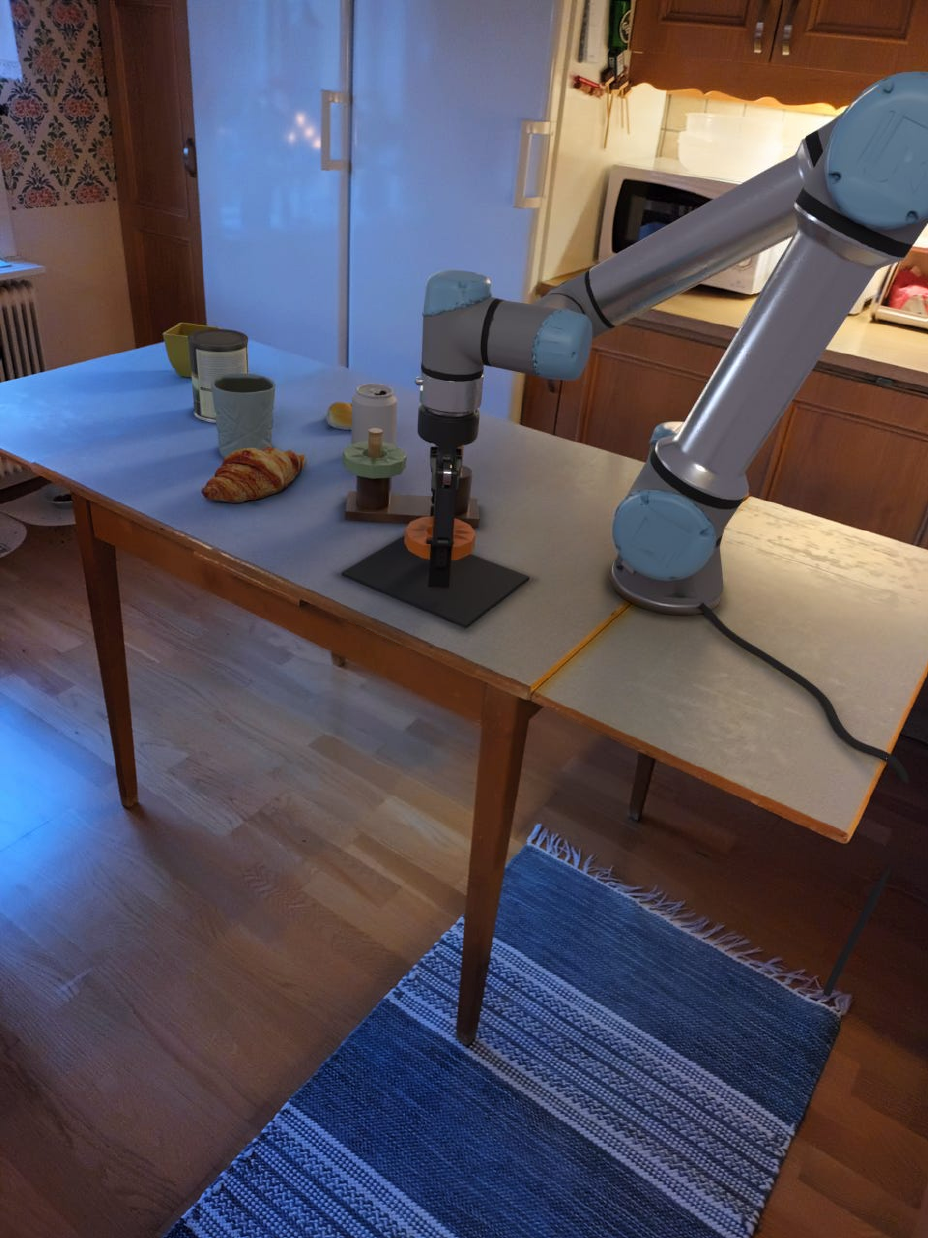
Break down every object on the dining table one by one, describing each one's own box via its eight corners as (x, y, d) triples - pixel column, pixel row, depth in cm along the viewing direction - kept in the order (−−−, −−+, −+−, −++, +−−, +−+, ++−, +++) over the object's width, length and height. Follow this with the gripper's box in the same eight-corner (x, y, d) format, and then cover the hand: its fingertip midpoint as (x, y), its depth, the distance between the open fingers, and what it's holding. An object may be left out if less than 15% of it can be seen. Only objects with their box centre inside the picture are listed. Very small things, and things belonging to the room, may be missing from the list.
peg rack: (476, 507, 145) (484, 428, 138) (478, 527, 139) (486, 446, 132) (348, 499, 143) (349, 419, 136) (344, 520, 137) (346, 437, 130)
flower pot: (165, 378, 183) (161, 332, 178) (184, 365, 190) (180, 321, 185) (207, 384, 182) (204, 338, 177) (224, 371, 189) (222, 327, 184)
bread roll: (380, 430, 169) (381, 409, 167) (332, 432, 166) (332, 411, 164) (369, 414, 175) (369, 393, 173) (322, 416, 172) (322, 395, 170)
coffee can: (181, 412, 168) (174, 335, 161) (225, 399, 175) (220, 325, 168) (220, 428, 163) (215, 348, 156) (263, 414, 171) (260, 338, 163)
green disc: (417, 468, 137) (418, 455, 136) (372, 483, 131) (372, 470, 130) (376, 449, 142) (376, 436, 141) (331, 462, 136) (331, 450, 135)
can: (388, 468, 155) (390, 398, 148) (345, 461, 156) (346, 392, 149) (399, 451, 161) (402, 384, 155) (358, 445, 162) (359, 378, 155)
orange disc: (487, 547, 123) (488, 533, 122) (439, 568, 117) (440, 554, 116) (438, 523, 128) (439, 510, 127) (391, 542, 122) (391, 528, 121)
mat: (528, 579, 127) (529, 576, 126) (465, 628, 115) (466, 625, 115) (411, 534, 135) (411, 531, 135) (341, 575, 124) (341, 572, 123)
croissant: (291, 482, 155) (274, 436, 153) (332, 471, 148) (315, 423, 146) (194, 522, 139) (174, 471, 137) (236, 511, 133) (215, 458, 131)
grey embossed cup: (203, 455, 153) (198, 384, 146) (236, 436, 161) (233, 368, 155) (257, 468, 150) (254, 397, 144) (288, 448, 158) (286, 379, 152)
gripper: (419, 375, 121) (411, 528, 133) (417, 437, 103) (408, 608, 115) (476, 379, 122) (463, 531, 134) (484, 441, 103) (468, 611, 115)
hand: (438, 567), depth 124 cm, fingers closed on orange disc, 9 cm apart
